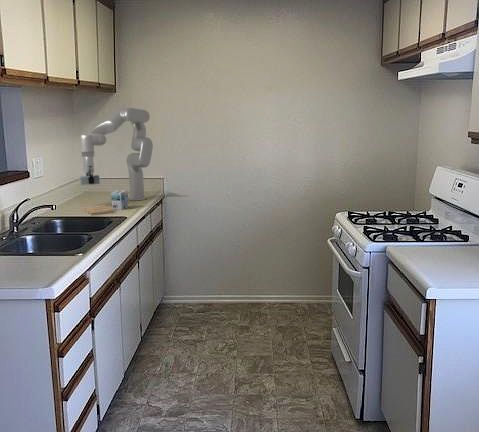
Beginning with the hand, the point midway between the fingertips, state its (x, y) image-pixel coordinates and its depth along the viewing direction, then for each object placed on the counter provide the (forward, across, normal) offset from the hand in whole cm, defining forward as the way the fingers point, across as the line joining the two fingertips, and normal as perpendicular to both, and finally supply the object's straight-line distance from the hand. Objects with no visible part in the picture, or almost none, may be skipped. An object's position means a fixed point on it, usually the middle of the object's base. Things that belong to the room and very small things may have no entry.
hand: (90, 182), depth 349 cm
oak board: (+16, +17, 0) cm, 23 cm away
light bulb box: (+16, +14, +15) cm, 26 cm away
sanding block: (+1, 0, 0) cm, 1 cm away
